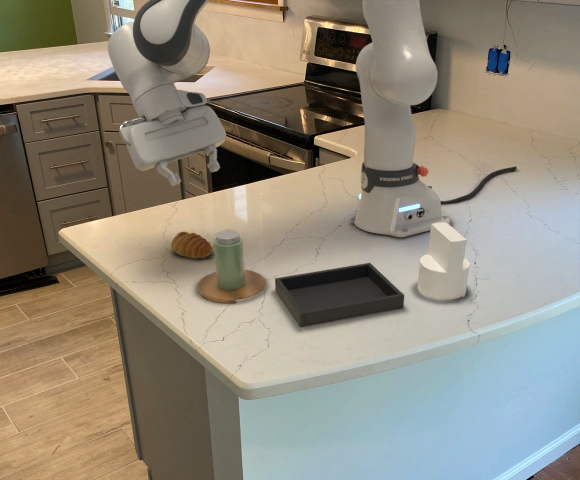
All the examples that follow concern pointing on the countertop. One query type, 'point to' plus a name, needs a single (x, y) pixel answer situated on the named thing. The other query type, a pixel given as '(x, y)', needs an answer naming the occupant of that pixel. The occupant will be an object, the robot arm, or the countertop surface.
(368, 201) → the robot arm
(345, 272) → the tray
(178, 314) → the countertop surface
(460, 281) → the base with upright slab
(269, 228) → the countertop surface
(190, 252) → the pastry
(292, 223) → the countertop surface
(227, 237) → the salt shaker
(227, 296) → the coaster
